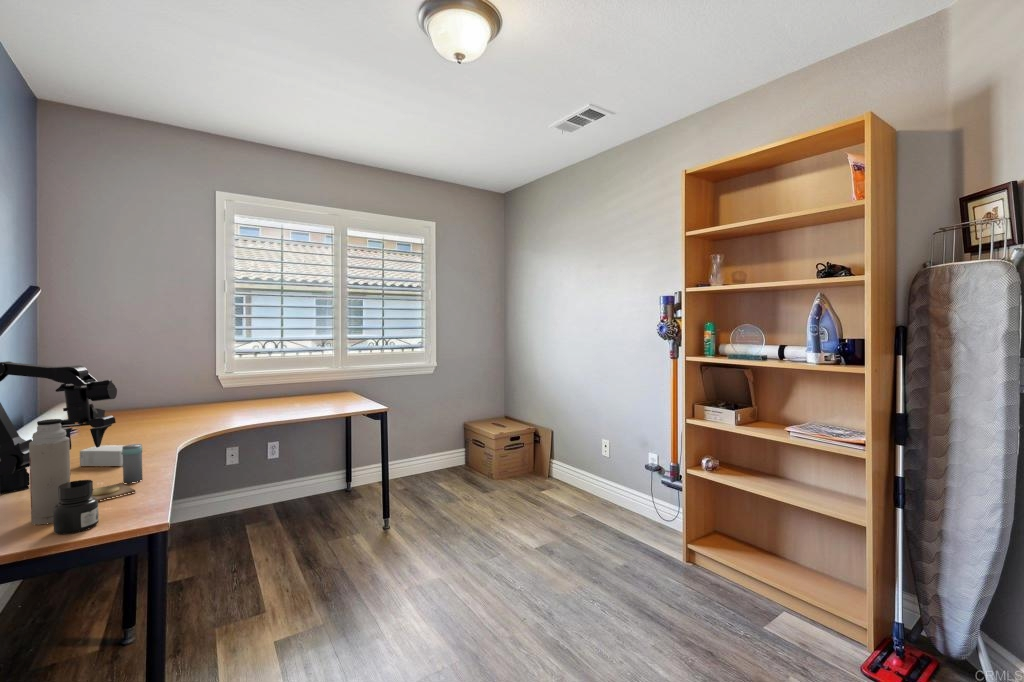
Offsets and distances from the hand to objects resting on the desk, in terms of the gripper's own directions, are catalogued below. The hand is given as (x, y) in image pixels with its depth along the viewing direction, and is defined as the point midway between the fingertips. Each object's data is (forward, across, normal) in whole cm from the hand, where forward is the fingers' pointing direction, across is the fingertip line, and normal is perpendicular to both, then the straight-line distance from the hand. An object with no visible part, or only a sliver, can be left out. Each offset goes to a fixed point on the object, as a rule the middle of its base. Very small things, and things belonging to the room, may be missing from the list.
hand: (83, 448), depth 158 cm
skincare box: (+8, +18, -24) cm, 32 cm away
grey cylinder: (+14, -13, -2) cm, 19 cm away
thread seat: (+13, -13, +10) cm, 21 cm away
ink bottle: (+14, -24, +35) cm, 45 cm away
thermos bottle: (+13, -13, +29) cm, 34 cm away
